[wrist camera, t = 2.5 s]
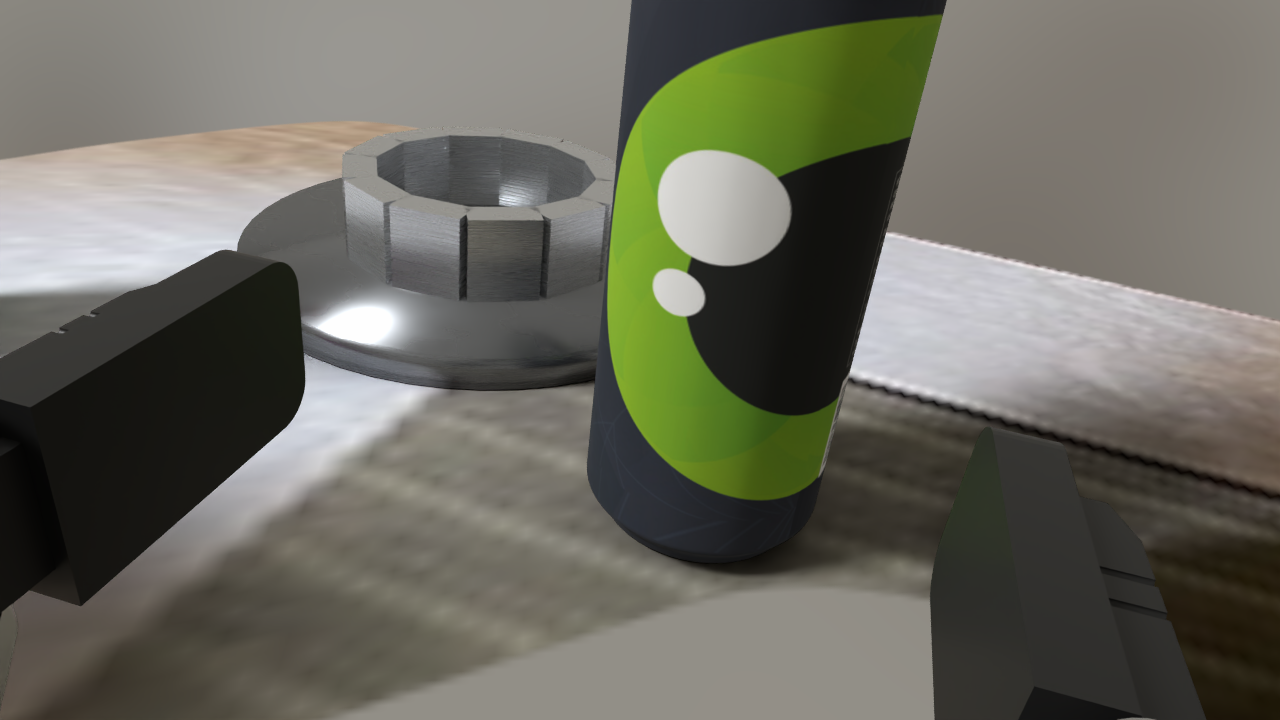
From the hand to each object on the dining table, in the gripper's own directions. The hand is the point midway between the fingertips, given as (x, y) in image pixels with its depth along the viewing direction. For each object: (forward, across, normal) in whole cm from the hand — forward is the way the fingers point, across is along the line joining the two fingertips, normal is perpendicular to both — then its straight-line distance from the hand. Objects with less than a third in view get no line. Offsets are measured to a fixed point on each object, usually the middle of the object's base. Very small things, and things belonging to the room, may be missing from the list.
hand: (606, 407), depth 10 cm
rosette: (+22, +11, +10) cm, 27 cm away
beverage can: (+11, 0, +10) cm, 15 cm away
